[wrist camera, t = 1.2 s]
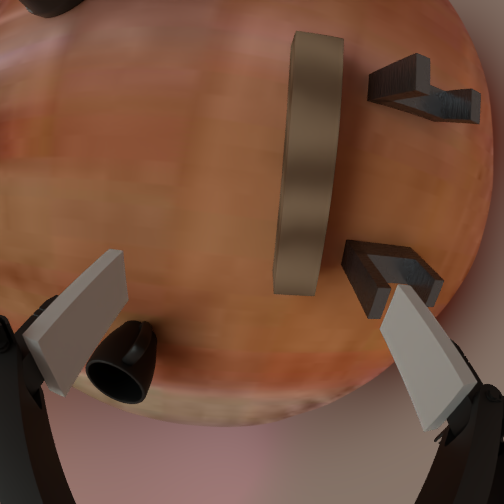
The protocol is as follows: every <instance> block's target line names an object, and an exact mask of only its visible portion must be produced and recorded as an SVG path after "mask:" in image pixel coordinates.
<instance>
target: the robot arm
mask: <svg viewBox="0 0 504 504" xmlns="http://www.w3.org/2000/svg"><path fill="white" fill-rule="evenodd" d="M19 1H20V2H21V3H22V4H23V5H24V6H25V7H26V8H27V10H28V11H29V12H30V13H32V14H34V15H37V16H41V17H45V18H49V17H54V16H57V15H60V14H62V13H64V12H66V11H68V10H70V9H71V8H73V7H75V6H76V5H77V4H79V3H80V2H82V1H83V0H19ZM127 301H128V293H127V285H126V276H125V267H124V256H123V251H121V250H114V249H109V250H108V251H107V252H105V253H104V254H103V255H102V256H101V257H100V258H99V259H97V260H96V261H95V262H94V263H93V264H92V265H91V266H90V267H89V268H88V269H86V270H85V271H84V272H83V273H82V274H81V275H80V276H79V277H78V278H77V279H76V280H75V281H74V282H73V283H72V284H71V285H70V286H69V287H67V288H66V289H65V290H64V291H63V292H62V293H61V294H60V295H59V296H58V295H55V296H54V297H52V298H50V299H48V300H46V301H45V302H44V303H43V304H42V305H41V306H40V307H39V309H37V310H36V311H35V312H34V314H33V315H32V316H31V317H30V318H29V319H28V320H27V321H26V322H25V323H24V324H23V325H22V326H21V327H20V328H19V329H18V331H17V332H16V333H15V334H14V333H13V330H12V328H11V326H10V323H9V321H8V319H7V318H6V317H5V316H2V315H0V503H1V504H76V503H75V501H74V498H73V496H72V493H71V491H70V488H69V486H68V483H67V481H66V478H65V475H64V472H63V469H62V466H61V463H60V460H59V457H58V454H57V451H56V447H55V443H54V440H53V436H52V432H51V428H50V424H49V419H48V415H47V410H46V405H45V400H44V394H43V390H42V388H41V384H42V383H43V381H45V382H46V384H47V386H48V388H49V389H50V391H53V392H55V393H57V394H59V395H61V396H64V397H66V395H67V393H68V392H69V390H70V388H71V387H72V385H73V383H74V382H75V380H76V378H77V377H78V375H79V373H80V372H81V370H82V369H83V367H84V365H85V364H86V362H87V361H88V359H89V357H90V356H91V354H92V353H93V351H94V350H95V348H96V347H97V345H98V344H99V342H100V341H101V339H102V338H103V336H104V335H105V333H106V332H107V330H108V329H109V327H110V326H111V324H112V323H113V321H114V320H115V318H116V317H117V315H118V314H119V313H120V311H121V310H122V308H123V307H124V305H125V304H126V303H127ZM380 331H381V333H382V335H383V337H384V339H385V341H386V343H387V345H388V347H389V350H390V352H391V354H392V356H393V358H394V360H395V363H396V365H397V367H398V369H399V372H400V374H401V376H402V378H403V381H404V383H405V386H406V388H407V390H408V393H409V395H410V398H411V400H412V402H413V405H414V407H415V410H416V413H417V415H418V417H419V420H420V423H421V426H422V428H423V431H424V432H425V431H429V430H433V429H437V428H439V427H440V426H441V425H442V423H443V422H444V421H445V420H446V419H447V421H448V424H449V425H448V426H447V427H446V428H445V429H444V430H443V431H442V432H441V433H440V434H439V435H438V436H437V437H436V438H435V440H434V442H436V441H437V440H438V439H440V438H441V437H442V439H441V441H440V442H439V444H440V445H439V448H438V451H437V453H436V456H435V459H434V461H433V464H432V466H431V469H430V471H429V474H428V476H427V478H426V480H425V483H424V485H423V487H422V489H421V492H420V493H419V496H418V498H417V500H416V502H415V504H504V441H503V437H504V396H502V394H501V392H500V391H499V390H498V389H497V388H496V387H495V386H493V385H490V384H484V385H483V383H482V382H481V380H480V378H479V377H478V375H477V373H476V372H475V370H474V369H473V367H472V366H471V364H470V363H469V362H468V359H467V358H466V356H464V353H463V352H462V350H461V349H460V347H459V346H458V345H457V344H456V343H455V342H454V341H452V340H451V339H449V337H448V335H447V334H446V333H445V331H444V330H443V328H442V327H441V326H440V324H439V323H438V321H437V320H436V319H435V317H434V316H433V314H432V313H431V312H430V310H429V309H428V308H427V306H426V305H425V304H424V302H423V301H422V300H421V299H420V297H419V296H418V295H417V293H416V292H415V291H414V290H413V288H412V287H411V286H410V285H401V284H398V285H397V288H396V291H395V293H394V296H393V298H392V301H391V303H390V306H389V308H388V311H387V313H386V315H385V318H384V320H383V323H382V325H381V327H380Z"/></svg>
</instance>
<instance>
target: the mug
mask: <svg viewBox="0 0 504 504" xmlns="http://www.w3.org/2000/svg"><path fill="white" fill-rule="evenodd" d="M156 345H157V338H156V335H155V334H154V332H153V331H152V326H151V324H150V323H148V322H146V321H144V322H142V323H141V322H139V321H127V322H125V323H124V324H123V325H122V326H120V327H119V328H117V329H116V330H114V331H113V332H112V333H111V334H109V335H108V336H107V337H106V338H105V339H104V340H103V341H102V342H101V343H100V345H99V346H98V347H97V348H96V350H95V351H94V353H93V354H92V356H91V357H90V359H89V361H88V362H87V364H86V373H87V376H88V378H89V379H90V381H91V382H92V383H93V385H94V386H95V387H96V388H97V389H98V390H100V391H101V392H102V393H104V394H105V395H107V396H108V397H110V398H112V399H114V400H117V401H119V402H123V403H127V404H137V403H140V402H142V401H143V400H144V399H145V397H146V395H147V392H148V390H149V387H150V384H151V382H152V378H153V374H154V369H155V363H156Z"/></svg>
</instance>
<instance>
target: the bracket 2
mask: <svg viewBox="0 0 504 504" xmlns="http://www.w3.org/2000/svg"><path fill="white" fill-rule="evenodd" d="M341 266H342V267H343V269H344V271H345V273H346V275H347V277H348V279H349V281H350V283H351V285H352V287H353V289H354V291H355V293H356V295H357V297H358V299H359V301H360V303H361V306H362V308H363V310H364V312H365V314H366V316H367V318H368V319H380V318H381V315H382V313H383V310H384V307H385V305H386V302H387V299H388V296H389V294H390V291H391V287H390V286H389V284H388V283H400V284H408V285H410V286H411V287H412V288H413V290H414V291H415V292H416V293H417V295H418V296H419V297H420V299H421V300H422V301H423V302H424V304H425V305H426V306H427V307H434V305H435V302H436V300H437V297H438V295H439V292H440V290H441V287H442V285H443V282H444V280H443V279H442V278H441V277H440V276H439V275H438V274H437V273H436V272H435V271H434V270H433V269H432V268H431V267H430V266H429V265H428V264H427V263H426V262H425V261H424V260H423V259H422V258H421V257H420V256H419V255H418V254H417V253H416V252H415V251H414V250H413V249H412V248H411V247H404V246H396V245H387V244H379V243H371V242H362V241H353V240H346V245H345V249H344V254H343V258H342V263H341Z"/></svg>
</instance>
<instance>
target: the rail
mask: <svg viewBox="0 0 504 504" xmlns="http://www.w3.org/2000/svg"><path fill="white" fill-rule="evenodd" d="M343 48H344V39H343V38H338V37H333V36H327V35H321V34H315V33H308V32H301V31H296V32H295V35H294V38H293V41H292V45H291V53H290V70H289V86H288V101H287V116H286V129H285V142H284V155H283V167H282V179H281V190H280V201H279V212H278V223H277V233H276V243H275V253H274V262H273V288H274V294H284V295H301V296H315V291H316V286H317V281H318V276H319V270H320V265H321V259H322V254H323V248H324V242H325V236H326V230H327V223H328V217H329V210H330V203H331V196H332V188H333V180H334V172H335V164H336V155H337V145H338V135H339V123H340V110H341V96H342V77H343Z"/></svg>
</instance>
